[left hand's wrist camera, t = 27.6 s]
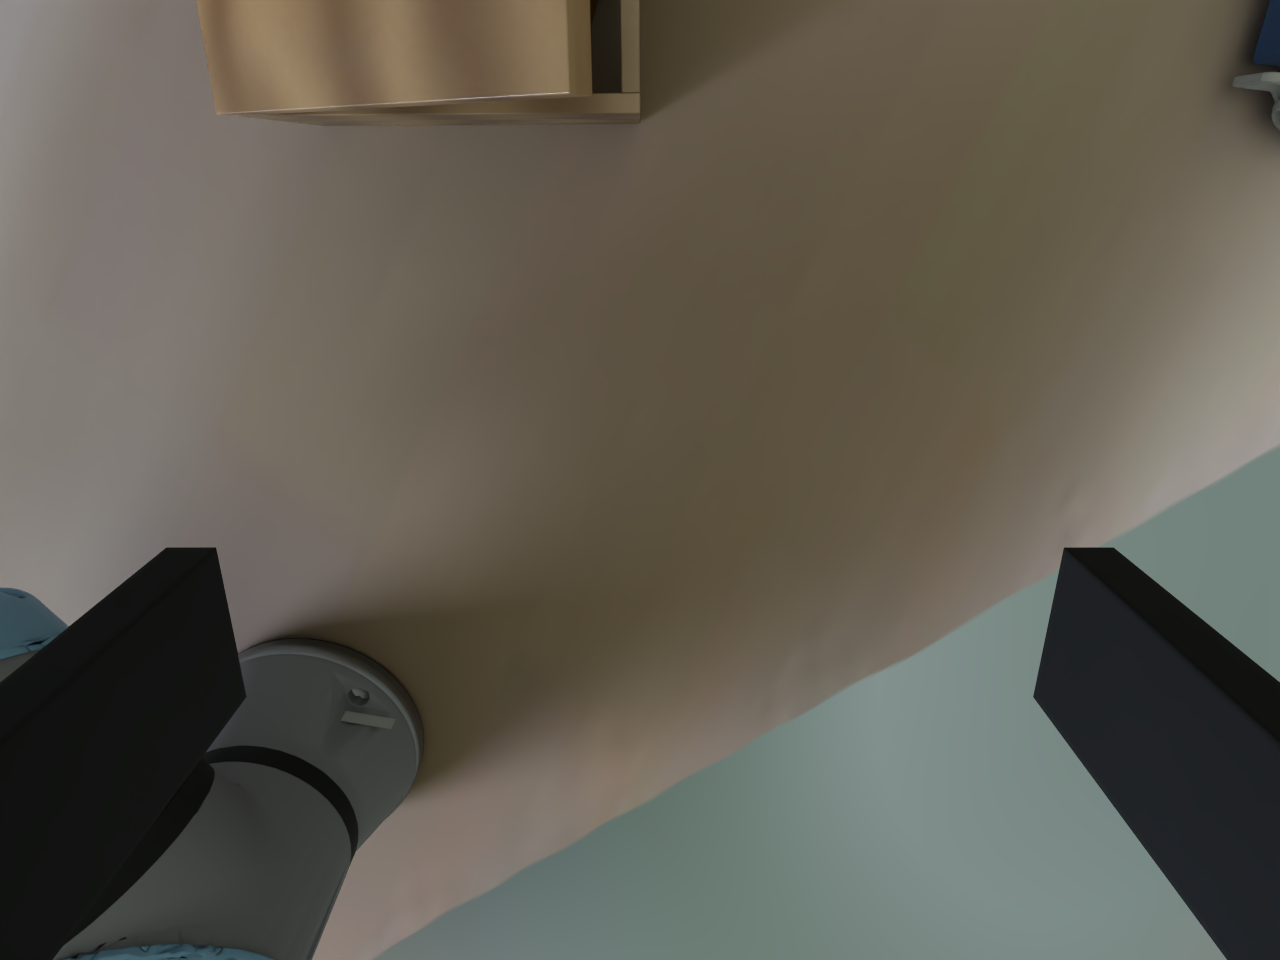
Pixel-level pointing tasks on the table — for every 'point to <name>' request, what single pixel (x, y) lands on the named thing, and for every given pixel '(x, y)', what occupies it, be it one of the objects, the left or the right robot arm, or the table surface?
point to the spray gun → (1266, 60)
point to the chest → (607, 105)
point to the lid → (392, 53)
